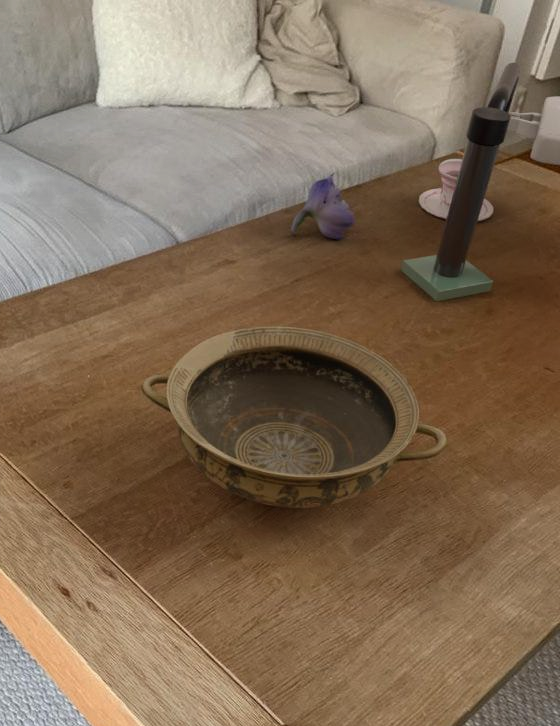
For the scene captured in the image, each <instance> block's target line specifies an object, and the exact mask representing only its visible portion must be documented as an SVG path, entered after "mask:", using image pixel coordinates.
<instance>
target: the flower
mask: <svg viewBox="0 0 560 726" xmlns="http://www.w3.org/2000/svg"><path fill="white" fill-rule="evenodd" d="M335 173H336V172H333V173H330V174H329V175H328V176H327V177H326V178H323V179H319V180H316V181H315V182H314V183H313V184H311V187H310V189H309V191H308V196H307V199H306V203H305V205H304V206H303V207H302V209H301V210H300V211H298V212H297V214H296V216H295V217H294V219H293V221H292V224H291V228H290V233H291V235H293V236H296V234H297V232H298V229H299V228H300V226H301V225H302V223H304V221H305V219H307V218H311V219H312V220H314V221H315V223H316V224H317V227H318V229H319V231H320V233H321V235H323V236H324V237H326V238H328V239H331V240H339V241H340V240H342V239H344V238H345V235H343V234H344V233H345V232H347V231H348V230H349V229H351V228H352V227H354V226H355V216H354V213H353V210H349V207H350V204H349V203H347V202H346V200H345V199H342V200H341V201H340V199H341V197H342V194H343V192H341V189H340V188H337V187H336V184H335V183H334V178H333V177H334V175H335Z"/></svg>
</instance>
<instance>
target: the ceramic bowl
mask: <svg viewBox="0 0 560 726" xmlns="http://www.w3.org/2000/svg"><path fill="white" fill-rule="evenodd" d="M159 384H160V385H161V384H166V387H165V394H166V397H165V396H162V394H159V393H158V392H157V391H155V390H154V389H153V386H155V385H159ZM141 391H142V394H143V395H144V396H145V397H146V398H147V399H148V400H149V401H151V402H152V403H153V404H155V405H157V406H158V407H160V408H162V409H163V410H165V411H167V412H168V413H170V414H171V416H172V418H173V419H174V420H175V422H176V424H177V431H178V436H179V440H180V443H181V446H182V447H183V450H184V451H185V453H186V455H187V457H188V458H189V460H190V461H191V463H192V464H193V465H194V466H195V467H196V468H197V469H198V470H199V471H200V472H201V473H202V474H203V475H204V476H205V477H207V478H208V479H209V480H210V481H212V482H213V483H214V484H216V485H217V486H219V487H221V488H222V489H224V490H226V491H228V492H230V493H232V494H235V495H236V496H238V497H240V498H243V499H246V500H249V501H253V502H255V503H258V504H259V503H260V504H264V505H268V506H274V507H280V508H293V509H308V508H319V507H326V506H330V505H336V504H339V503H343V502H346V501H348V500H351V499H353V498H355V497H359V496H360V495H362V494H364V493H366V492H367V491H369V490H370V489H372V488H374V487H375V486H376V485H377V484H378V483H380V482H381V481H382V480H383V479H384V478H385V477H386V476H387V474H388V473H389V472H390V471H391V470H392V469H393V468H394V467H395V466H396V465H397V464H400V463H404V462H405V463H406V462H419V461H425V460H429V459H432V458H435V457H437V456H438V455H440V454H441V453H442V452H443V451H444V450H445V448H446V446H447V443H448V441H447V437H446V434H445V433H444V432H443V431H442V430H441V429H440V428H437V427H434V426H432V425H428V424H424V423H419V419H420V407H419V403H418V399H417V397H416V393H415V392H414V390H413V388H412V386H411V385H409V382H408V381H407V379H406V378H405V377H404V376H403V374H402V373H401V372H400V371H399V370H398V369H397V368H395V366H393V365H392V364H391V363H390V362H389V361H387V360H386V359H384V358H383V357H382V356H380V355H379V354H377V353H376V352H374V351H372V350H371V349H369V348H367V347H365V346H363V345H361V344H360V343H356V342H355V341H352V340H349V339H347V338H344V337H341V336H338V335H335V334H331V333H328V332H324V331H319V330H314V329H309V328H302V327H292V326H272V325H271V326H258V327H257V326H256V327H250V328H241V329H237V330H232V331H226V332H224V333H220V334H217V335H215V336H212V337H209V338H208V339H205V340H203V341H201V342H200V343H198V344H197V345H195V346H194V347H193V348H191V349H190V350H188V352H186V353H185V354H184V355H183V356H182V357H181V358H180V359H179V360H178V361H177V362H176V363H175V365H174V366H173V368H172V369H171V371H170V373H169V374H155V375H151V376H148V377H147V378H146V379H144V380H143V382H142V383H141ZM415 434H420V435H426V436H428V437H430V438H433V439H434V440H435V441H436V444H435V445H434V446H432V447H430V448H428V449H425V450H421V451H404V450H405V449H406V448H407V446H408V445H409V444H410V443H411V441H412V438H413V436H414V435H415Z"/></svg>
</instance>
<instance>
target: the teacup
mask: <svg viewBox="0 0 560 726" xmlns="http://www.w3.org/2000/svg"><path fill="white" fill-rule="evenodd" d="M462 159H463V158H451V159H446V160H444V161H442V162H441V163H440V164H439V165H438V174H439V175H440V176H441V178H440V181H441V184H442V185H441V187H439V188H433V189H432V188H431V189H429V190H426V191H424V192H422V193H421V194H420V195H419V198H418V203H419V205H420V207H421V208H422V209H423V210H425V211H426V212H427V213H428V214H430V215H433V216H435V217H437V218H440V219H444V220H446V219H447V215H448V211H449V208H450V204H451V200H452V196H453V193H454V189H455V185H456V181H457V178H458V174H459V170H460V166H461V163H462ZM493 214H494V206H493V205H492V203H491V202H490V201H489V200H487V199H486V198H484V201H483V205H482V208H481V211H480V215H479V218H478V222H481V221H482V222H483V221H484V220H487V219H489V218H491V216H492V215H493Z"/></svg>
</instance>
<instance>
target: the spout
mask: <svg viewBox="0 0 560 726" xmlns="http://www.w3.org/2000/svg"><path fill="white" fill-rule="evenodd" d="M520 73H521V67H520V65H519V63H517V62H509V63H508V64H507V65H505V67H504V69H503V71H502V73H501V76H500V78H499V80H498V82H497V84H496V86H495V89H494V91H493V93H492V96H491V97H490V100H489V102H488V104H487V106H483V107H482V106H481V107H476V108H474V109H473V110H472V112H471V115H470V120H469V124H468V127H467V131H466V135H465V137H466V138H467V140H468V139H469V140H471V141H473V142H475V143H479V144H483V145H499V144H500V145H502V144H503V143H504V142H505V138H506V135H507V132H508V131H507V129H508V125H509V122H510V119H511V115H510V114H509V113H510V110H511V106H512V102H513V100H514V96H515V92H516V89H517V85H518V83H519V75H520Z"/></svg>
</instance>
